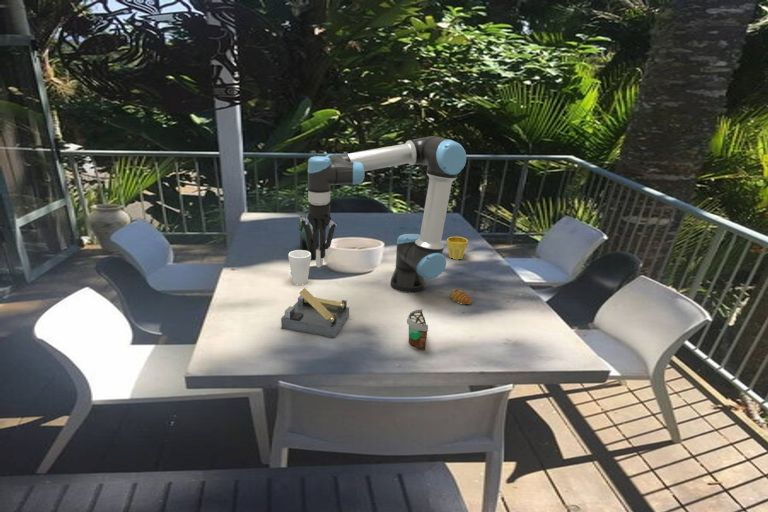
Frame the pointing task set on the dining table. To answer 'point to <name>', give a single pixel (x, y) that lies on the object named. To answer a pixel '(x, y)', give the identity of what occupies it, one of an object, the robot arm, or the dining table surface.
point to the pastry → (460, 297)
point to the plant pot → (456, 247)
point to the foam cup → (299, 266)
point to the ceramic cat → (303, 237)
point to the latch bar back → (329, 303)
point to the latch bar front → (316, 304)
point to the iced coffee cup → (417, 329)
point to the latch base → (314, 319)
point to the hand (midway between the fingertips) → (319, 265)
